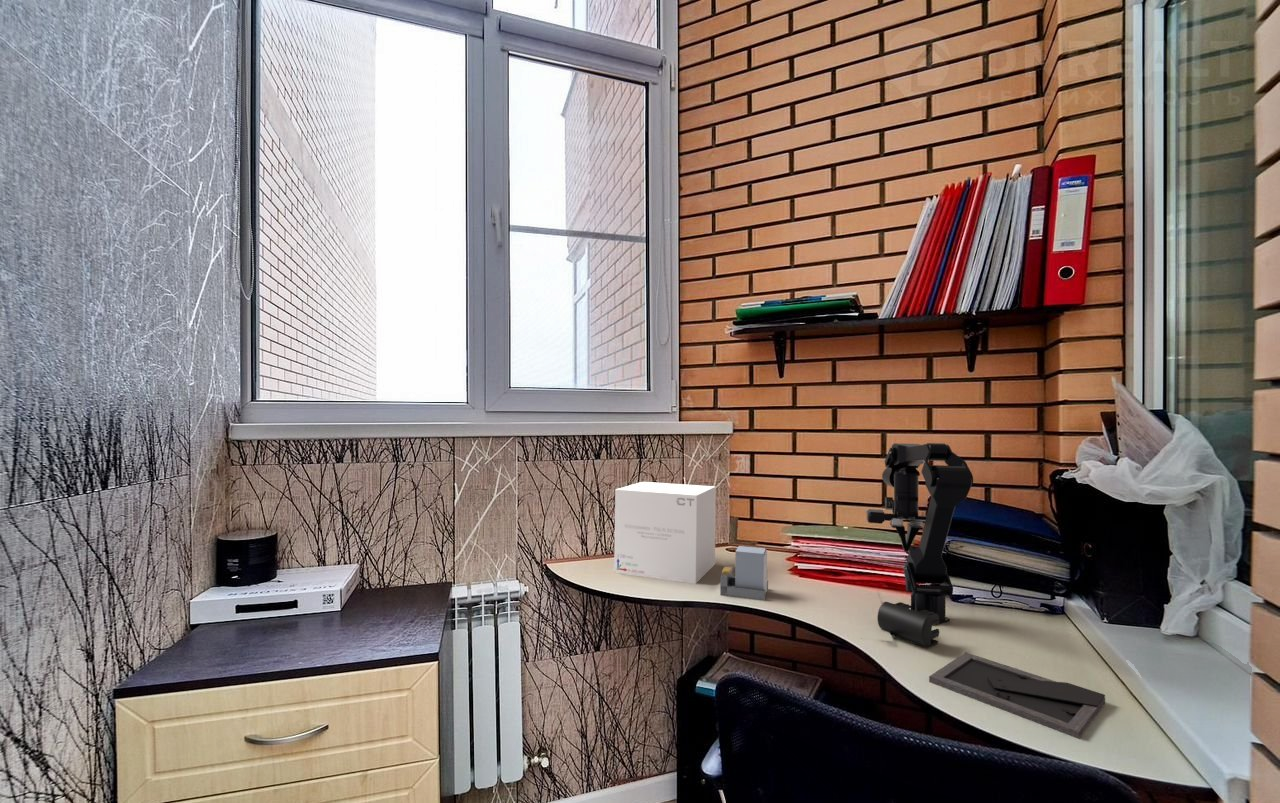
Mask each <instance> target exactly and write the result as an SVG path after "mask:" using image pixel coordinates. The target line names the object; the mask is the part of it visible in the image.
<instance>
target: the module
mask: <svg viewBox="0 0 1280 803" xmlns="http://www.w3.org/2000/svg"><path fill="white" fill-rule="evenodd" d="M734 562H735V564H734V566H735V569H734V571H735V573H734V575H735V576H734V577H735V586H736V587H745V588H754V589H763V590H765V595H766V594H767V591H768V590H767V580H768V550H767V549H766V548H764V547H755V546H745V545H738V547H737V548H736V549H735V561H734Z"/></svg>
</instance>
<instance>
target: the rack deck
mask: <svg viewBox="0 0 1280 803" xmlns="http://www.w3.org/2000/svg"><path fill="white" fill-rule="evenodd" d="M733 572H734V567H733V566H724V567H723V569H722V571H721V574H720V585H719V586H720V589H719V590H720V596H724V597H731V598H732V597H733V598H741V599H746V600H747V599H749V600H757V601H765V600H766V594H765V590H763V589H754V588H745V587H736V586H735V576H734V573H733ZM768 590H769V580H768V579H767V591H768Z"/></svg>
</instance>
